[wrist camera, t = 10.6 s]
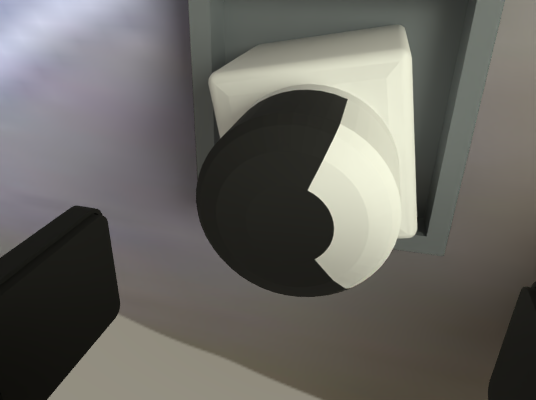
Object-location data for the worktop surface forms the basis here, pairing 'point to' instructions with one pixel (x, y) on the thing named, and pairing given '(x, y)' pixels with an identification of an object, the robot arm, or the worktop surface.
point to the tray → (423, 72)
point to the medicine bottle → (312, 160)
